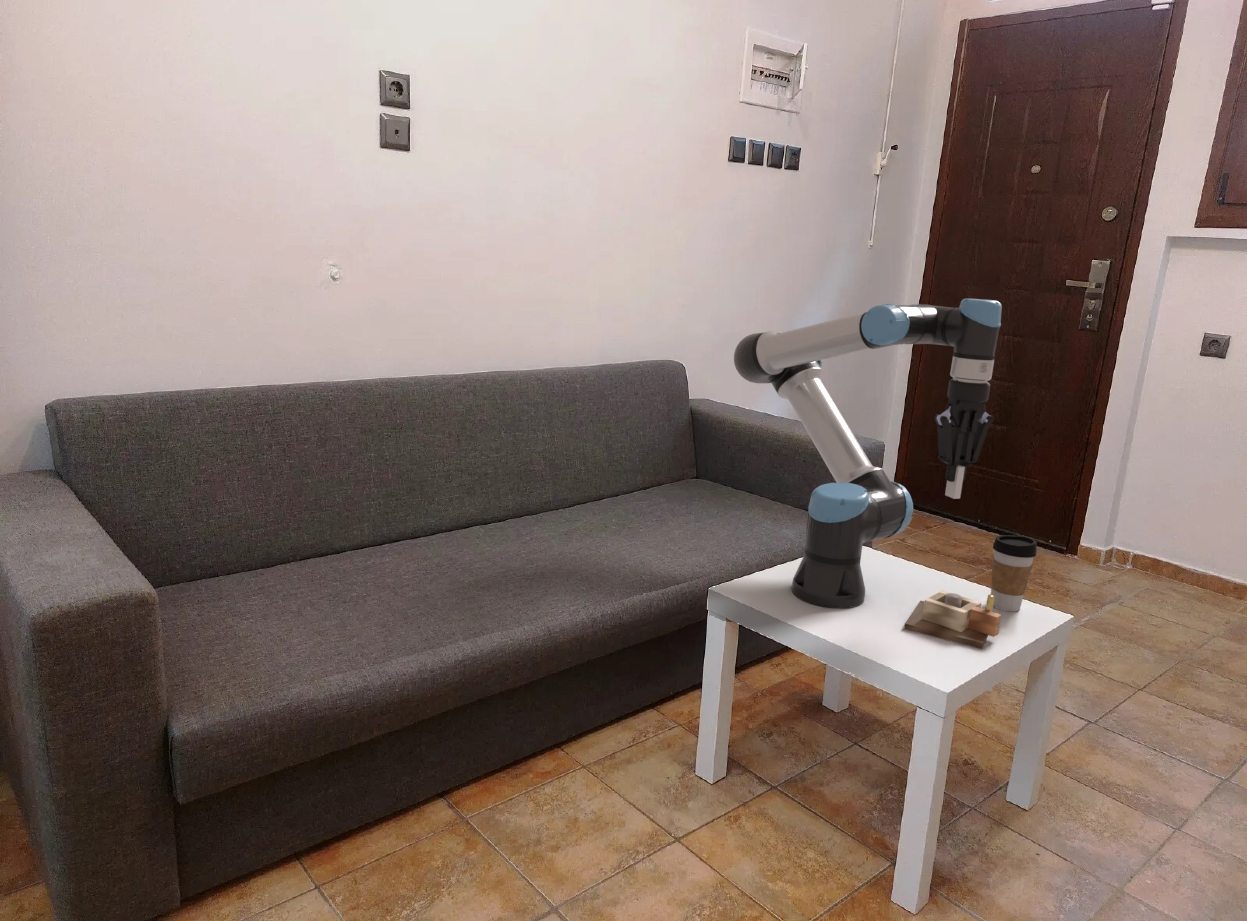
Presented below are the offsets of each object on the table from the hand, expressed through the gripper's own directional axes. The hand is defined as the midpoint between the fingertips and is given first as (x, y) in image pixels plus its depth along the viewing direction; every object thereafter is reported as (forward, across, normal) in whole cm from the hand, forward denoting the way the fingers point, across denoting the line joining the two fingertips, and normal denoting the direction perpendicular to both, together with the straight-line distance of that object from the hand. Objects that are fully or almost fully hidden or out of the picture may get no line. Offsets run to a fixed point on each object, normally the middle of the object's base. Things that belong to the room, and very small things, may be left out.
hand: (952, 496), depth 173 cm
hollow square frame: (+23, -2, -10) cm, 25 cm away
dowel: (+23, +2, -12) cm, 26 cm away
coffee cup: (+25, +17, -2) cm, 30 cm away
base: (+24, -3, -8) cm, 26 cm away
